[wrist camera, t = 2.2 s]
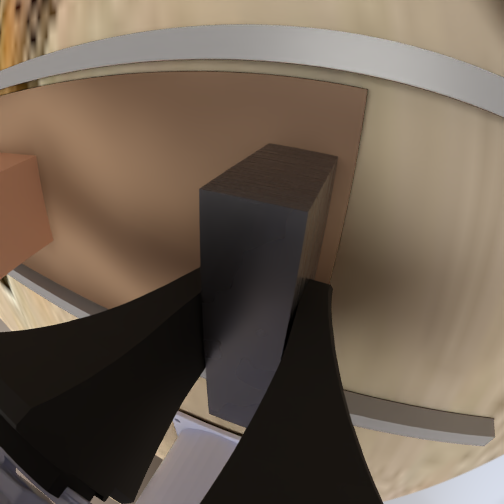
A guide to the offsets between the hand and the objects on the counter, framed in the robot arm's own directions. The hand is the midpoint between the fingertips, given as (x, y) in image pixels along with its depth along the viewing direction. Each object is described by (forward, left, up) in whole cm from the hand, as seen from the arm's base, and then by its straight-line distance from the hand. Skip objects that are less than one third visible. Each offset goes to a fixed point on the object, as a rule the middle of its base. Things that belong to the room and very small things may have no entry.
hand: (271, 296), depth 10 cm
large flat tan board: (0, +11, -2) cm, 11 cm away
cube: (0, +16, -2) cm, 16 cm away
